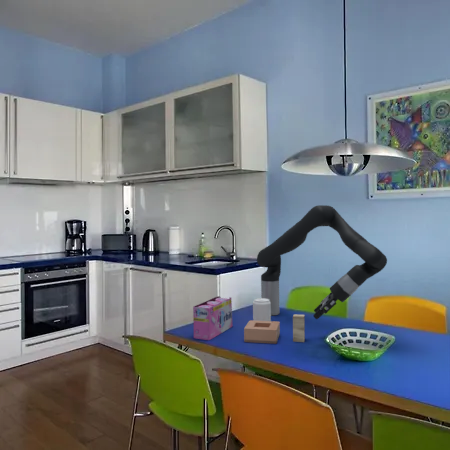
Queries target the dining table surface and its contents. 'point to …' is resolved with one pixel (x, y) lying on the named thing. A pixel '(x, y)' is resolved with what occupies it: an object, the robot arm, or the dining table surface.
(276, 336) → the well
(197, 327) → the gum box
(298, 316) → the post
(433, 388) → the dining table surface
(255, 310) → the beverage can
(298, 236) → the robot arm
